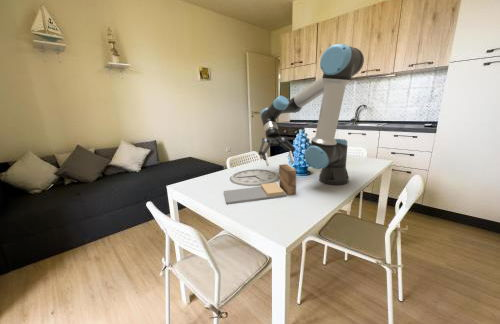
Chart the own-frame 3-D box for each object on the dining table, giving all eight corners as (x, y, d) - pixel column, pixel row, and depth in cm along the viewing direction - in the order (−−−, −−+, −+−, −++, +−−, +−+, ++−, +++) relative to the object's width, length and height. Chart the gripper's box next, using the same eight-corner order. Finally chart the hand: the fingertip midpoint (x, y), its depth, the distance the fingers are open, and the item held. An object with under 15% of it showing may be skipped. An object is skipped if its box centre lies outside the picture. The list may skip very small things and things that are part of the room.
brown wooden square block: (286, 186, 115) (286, 164, 112) (295, 194, 104) (296, 170, 101) (279, 186, 115) (279, 164, 112) (287, 195, 103) (287, 171, 100)
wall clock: (286, 170, 138) (267, 186, 112) (286, 173, 138) (267, 189, 112) (244, 166, 151) (219, 180, 126) (244, 169, 152) (219, 182, 126)
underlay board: (277, 186, 115) (277, 181, 115) (286, 196, 102) (286, 191, 101) (224, 192, 110) (223, 188, 110) (226, 204, 97) (226, 199, 96)
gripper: (290, 134, 129) (301, 165, 119) (249, 137, 125) (256, 169, 115) (294, 125, 123) (305, 157, 112) (250, 128, 119) (258, 162, 108)
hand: (280, 163), depth 113 cm, fingers open, 13 cm apart
